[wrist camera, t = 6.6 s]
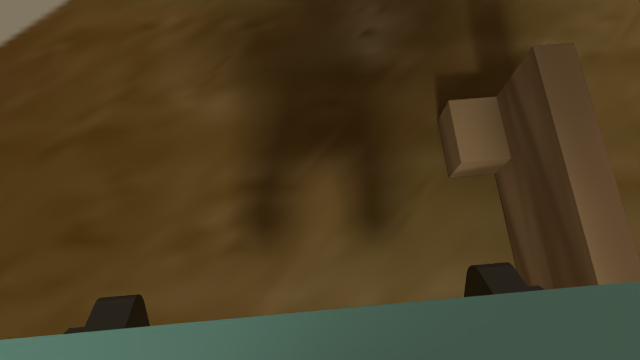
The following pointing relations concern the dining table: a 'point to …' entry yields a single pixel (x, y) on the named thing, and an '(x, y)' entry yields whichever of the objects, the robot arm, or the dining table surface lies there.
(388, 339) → the slotted tab
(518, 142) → the slotted rail
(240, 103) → the dining table surface
